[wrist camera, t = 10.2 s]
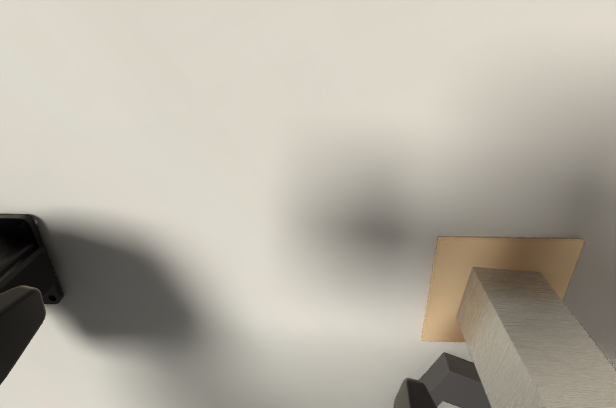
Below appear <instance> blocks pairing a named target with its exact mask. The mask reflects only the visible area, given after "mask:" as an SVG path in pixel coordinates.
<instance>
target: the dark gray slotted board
mask: <svg viewBox="0 0 616 408" xmlns="http://www.w3.org/2000/svg"><path fill="white" fill-rule="evenodd" d="M419 381H421V382H423V383H424V384H425V386H426V388H427V389H428V391H429V393H430V395H431V397H432V399H433V401H434V403H435V404H436V406H438V405H439V404H440V403H441V402H442V401H444V402H447V403H450V404H452V405H455V406H458V407H461V408H492V407H491V405H490V402H489V400H488V397H487V395H486V392H485V390H484V387H483V385H482V382H481V380H480V377H479V375H478V372H477V369H476V367H475V364H473V363H470V362H468V361H465V360H462V359H460V358H457V357H455V356H452V355H449V354H447V353H443V354H442V355H441V356H440V357H439V359H438V360H437V361H436V362H435V363H434V364H433V365H432V366H431V368H430V369H429V370H428V371H427V372H426V373H425V374H424V375H423V376H422V378H421V379H420V380H419Z"/></svg>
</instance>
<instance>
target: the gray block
mask: <svg viewBox="0 0 616 408" xmlns="http://www.w3.org/2000/svg"><path fill="white" fill-rule="evenodd" d="M456 319H457V321H458V324H459V326H460V329H461V331H462V334H463V337H464V339H465V342H466V344H467V347H468V349H469V352H470V354H471V357H472V359H473V362H474V364H475V367H476V369H477V372H478V375H479V377H480V380H481V382H482V385H483V387H484V390H485V392H486V395H487V397H488V400H489V402H490V405H491V407H492V408H616V370H615V369H614V367H613V366H612V365H611V364H610V362H609V361H608V360H607V358H606V357H605V356H604V354H603V353H602V352H601V350H600V349H599V348H598V347H597V345H596V344H595V343H594V341H593V340H592V339H591V337H590V336H589V335H588V334H587V332H586V331H585V330H584V328H583V327H582V326H581V324H580V323H579V322H578V321H577V319H576V318H575V317H574V315H573V314H572V313H571V311H570V310H569V309H568V307H567V306H566V305H565V304H564V302H563V301H562V300H561V298H560V297H559V296H558V294H557V293H556V292H555V291H554V289H553V288H552V287H551V285H550V284H549V283H548V281H547V280H546V279H545V278H544V276H543V275H542V274H541V272H532V271H520V270H507V269H495V268H482V267H472V269H471V272H470V275H469V278H468V281H467V284H466V287H465V291H464V294H463V297H462V300H461V303H460V306H459V309H458V312H457V315H456Z"/></svg>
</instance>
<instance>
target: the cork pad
mask: <svg viewBox="0 0 616 408" xmlns="http://www.w3.org/2000/svg"><path fill="white" fill-rule="evenodd" d="M583 245H584V241H583V240H582V239H551V238H480V237H438V241H437V247H436V253H435V259H434V265H433V271H432V278H431V284H430V290H429V296H428V302H427V308H426V314H425V320H424V326H423V332H422V341H442V342H465V339H464V337H463V334H462V331H461V329H460V326H459V324H458V321H457V319H456V315H457V312H458V309H459V306H460V303H461V300H462V297H463V294H464V291H465V287H466V284H467V281H468V278H469V275H470V272H471V269H472V267H482V268H495V269H507V270H520V271H532V272H541V274H542V275H543V276H544V278H545V279H546V280H547V281H548V283H549V284H550V285H551V287H552V288H553V289H554V291H555V292H556V293H557V294H558V296H559V297H560V298H561V300H562V301H563V298H564V296H565V293H566V290H567V288H568V285H569V282H570V280H571V277H572V274H573V272H574V269H575V266H576V264H577V261H578V258H579V256H580V253H581V250H582V248H583Z"/></svg>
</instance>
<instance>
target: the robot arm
mask: <svg viewBox="0 0 616 408" xmlns="http://www.w3.org/2000/svg"><path fill="white" fill-rule="evenodd" d="M24 223H25V224H26V225H25V224H24ZM63 297H64V294H63V292H62V289H61V287H60V284H59V282H58V279H57V277H56V274H55V271H54V269H53V266H52V264H51V261H50V259H49V256H48V254H47V251H46V249H45V246H44V243H43V241H42V238H41V236H40V233H39V231H38V228H37V226H36V223H35V221H34V220H33V219H32V218H31V217H29V216H27V215H0V385H1V383H2V382H3V381H4V379H5V378H6V377H7V375H8V374H9V372H10V371H11V370H12V368H13V367H14V365H15V364H16V362H17V361H18V359H19V358H20V356H21V355H22V353H23V352H24V350H25V348H26V347H27V345H28V344H29V342H30V341H31V339H32V338H33V336H34V335H35V333H36V332H37V330H38V329H39V327H40V326H41V324H42V323H43V321H44V319H45V316H46V310H45V306H44V304H58V303H59V302H60V301H61V300H62V299H63ZM394 408H437V406H436V404H435V403H434V401H433V399H432V397H431V395H430V393H429V391H428V389H427V388H426V386H425V384H424V383H423V382H421V381H419V380H415V379H410V378H406V379H404V381H403V383H402V385H401V387H400V389H399V391H398V393H397V396H396V398H395V401H394Z"/></svg>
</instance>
